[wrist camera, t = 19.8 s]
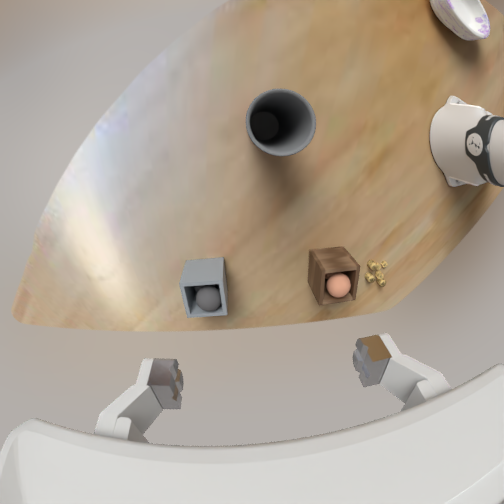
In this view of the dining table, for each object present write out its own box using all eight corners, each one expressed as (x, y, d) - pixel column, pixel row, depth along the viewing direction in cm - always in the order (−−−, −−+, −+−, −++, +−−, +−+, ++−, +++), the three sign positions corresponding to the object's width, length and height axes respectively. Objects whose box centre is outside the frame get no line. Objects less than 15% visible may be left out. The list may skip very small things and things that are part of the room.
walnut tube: (343, 246, 46) (360, 266, 40) (340, 277, 49) (355, 299, 42) (309, 249, 46) (321, 270, 40) (307, 281, 49) (319, 305, 42)
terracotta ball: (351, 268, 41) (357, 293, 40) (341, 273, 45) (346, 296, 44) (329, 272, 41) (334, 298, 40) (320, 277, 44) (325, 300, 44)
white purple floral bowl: (473, 52, 29) (497, 49, 22) (425, 26, 28) (450, 18, 21) (461, 1, 23) (482, -5, 16) (412, -26, 22) (433, -37, 15)
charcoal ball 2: (213, 276, 42) (226, 295, 40) (214, 291, 45) (226, 309, 43) (190, 287, 40) (202, 307, 38) (193, 301, 43) (204, 319, 41)
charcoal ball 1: (217, 265, 46) (212, 276, 42) (219, 286, 47) (216, 298, 43) (194, 266, 46) (188, 276, 42) (197, 287, 47) (192, 298, 44)
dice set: (380, 282, 51) (384, 287, 49) (360, 280, 50) (363, 286, 49) (388, 260, 49) (393, 264, 47) (368, 257, 48) (372, 262, 47)
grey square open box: (223, 257, 46) (222, 280, 39) (227, 289, 48) (227, 314, 42) (186, 260, 45) (179, 283, 39) (192, 292, 48) (187, 317, 41)
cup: (281, 151, 39) (308, 162, 25) (236, 143, 38) (240, 149, 24) (290, 109, 36) (321, 98, 23) (244, 100, 35) (252, 82, 22)
